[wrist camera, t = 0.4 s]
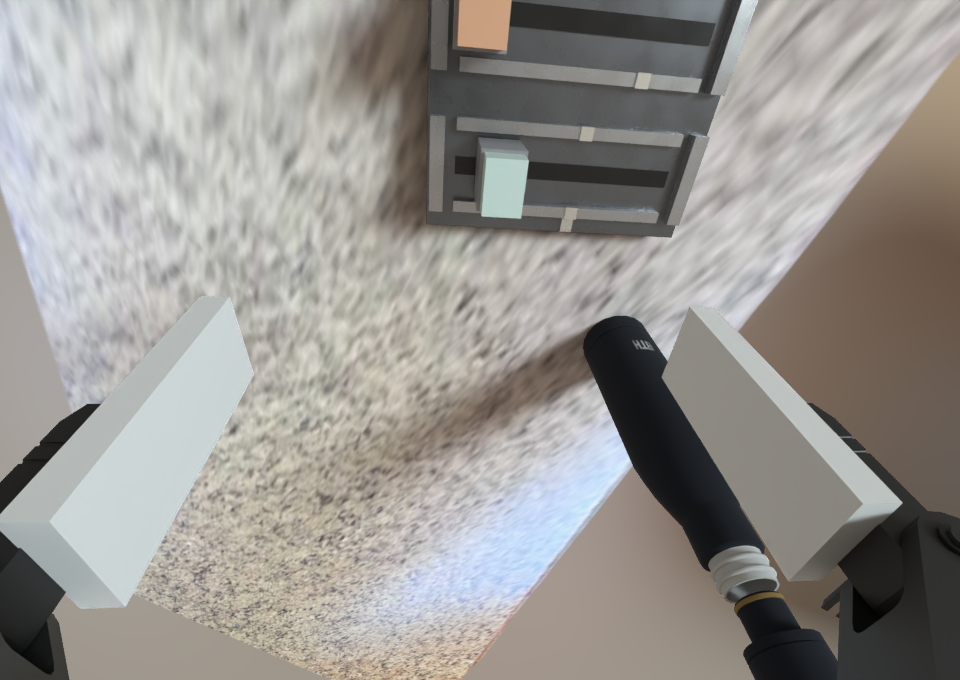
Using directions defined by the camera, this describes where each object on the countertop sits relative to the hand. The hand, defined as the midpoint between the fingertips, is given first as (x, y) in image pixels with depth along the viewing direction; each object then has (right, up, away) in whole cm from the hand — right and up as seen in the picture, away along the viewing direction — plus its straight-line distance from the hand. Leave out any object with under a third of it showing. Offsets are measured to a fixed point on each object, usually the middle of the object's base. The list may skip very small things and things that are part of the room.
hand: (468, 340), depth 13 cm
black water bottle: (+14, 0, +31) cm, 34 cm away
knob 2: (+2, +12, +18) cm, 22 cm away
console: (+7, +17, +18) cm, 26 cm away
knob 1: (0, +20, +13) cm, 24 cm away
